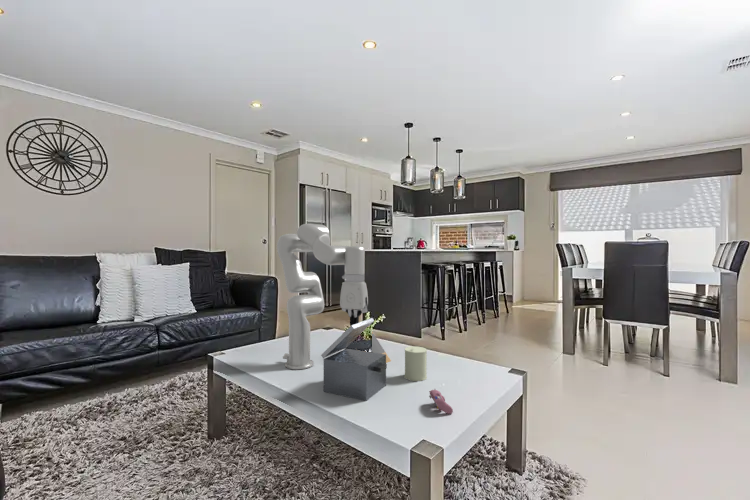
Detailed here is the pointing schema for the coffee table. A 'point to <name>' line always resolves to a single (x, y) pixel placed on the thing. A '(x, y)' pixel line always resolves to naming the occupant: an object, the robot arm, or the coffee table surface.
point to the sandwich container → (378, 348)
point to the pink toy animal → (440, 401)
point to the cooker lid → (347, 337)
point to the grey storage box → (355, 373)
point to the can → (415, 363)
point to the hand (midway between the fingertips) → (354, 327)
